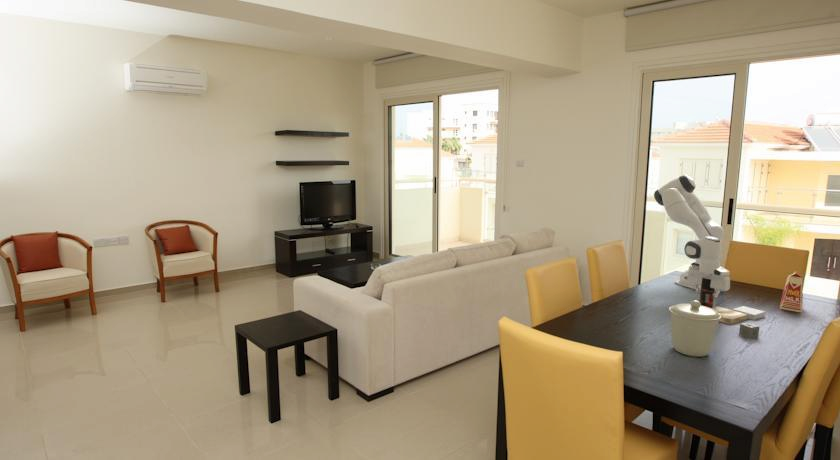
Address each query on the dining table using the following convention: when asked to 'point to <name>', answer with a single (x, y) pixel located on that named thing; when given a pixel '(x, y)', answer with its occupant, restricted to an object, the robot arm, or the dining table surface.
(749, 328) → the dice cube
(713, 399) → the dining table surface
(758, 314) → the grey stand
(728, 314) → the oak stand
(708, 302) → the deodorant
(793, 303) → the milk carton
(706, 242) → the robot arm
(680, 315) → the canister
